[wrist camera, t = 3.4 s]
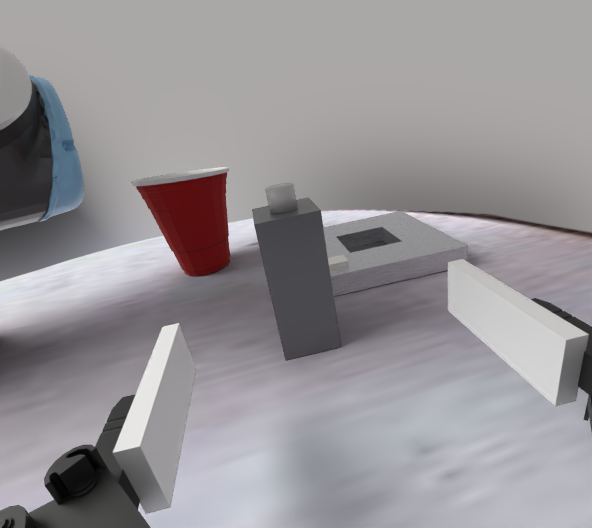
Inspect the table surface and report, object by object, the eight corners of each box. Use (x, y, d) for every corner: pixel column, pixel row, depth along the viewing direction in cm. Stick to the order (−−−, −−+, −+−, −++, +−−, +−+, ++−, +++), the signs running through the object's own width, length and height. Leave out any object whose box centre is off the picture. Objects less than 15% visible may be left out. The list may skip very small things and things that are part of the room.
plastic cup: (267, 252, 44) (246, 157, 40) (204, 291, 37) (168, 179, 32) (212, 246, 51) (188, 163, 46) (148, 279, 43) (111, 183, 38)
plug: (285, 360, 24) (248, 199, 19) (279, 329, 28) (247, 187, 23) (341, 347, 24) (316, 185, 20) (327, 318, 28) (304, 175, 23)
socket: (320, 299, 31) (316, 273, 30) (297, 248, 44) (293, 229, 43) (467, 265, 32) (467, 239, 31) (401, 225, 45) (400, 206, 44)
